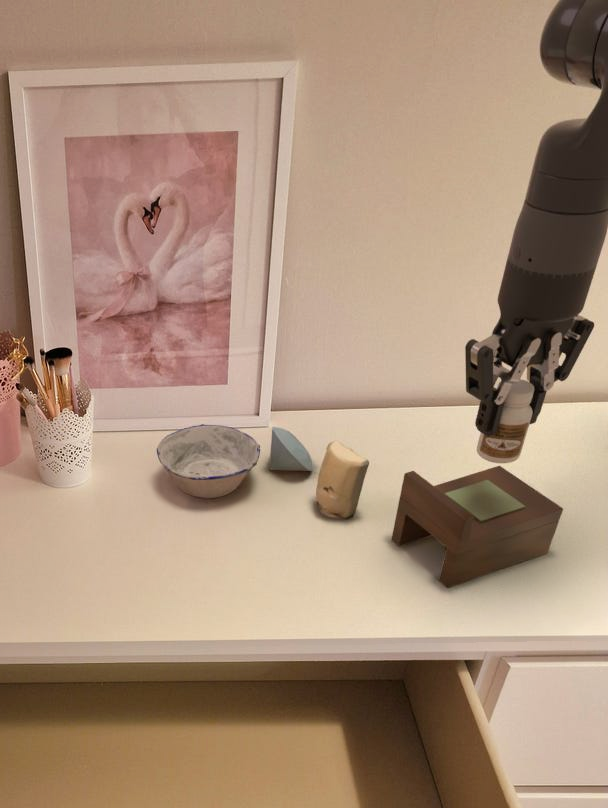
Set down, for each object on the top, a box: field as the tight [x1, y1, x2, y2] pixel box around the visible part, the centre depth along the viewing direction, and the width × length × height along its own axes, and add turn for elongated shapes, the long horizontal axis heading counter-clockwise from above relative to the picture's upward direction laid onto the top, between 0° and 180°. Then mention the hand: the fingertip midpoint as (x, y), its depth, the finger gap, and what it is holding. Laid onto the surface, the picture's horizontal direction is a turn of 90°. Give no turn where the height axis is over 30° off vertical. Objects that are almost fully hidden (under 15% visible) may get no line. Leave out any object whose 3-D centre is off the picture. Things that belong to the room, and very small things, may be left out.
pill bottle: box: [476, 378, 534, 464], centre depth 89 cm, size 4×4×8 cm
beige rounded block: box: [315, 441, 370, 520], centre depth 103 cm, size 6×5×8 cm
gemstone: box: [269, 426, 313, 472], centre depth 112 cm, size 8×8×5 cm
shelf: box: [390, 465, 564, 589], centre depth 97 cm, size 14×10×9 cm
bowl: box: [156, 423, 261, 499], centre depth 110 cm, size 13×13×5 cm
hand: (505, 426), depth 90 cm, fingers closed on pill bottle, 4 cm apart
